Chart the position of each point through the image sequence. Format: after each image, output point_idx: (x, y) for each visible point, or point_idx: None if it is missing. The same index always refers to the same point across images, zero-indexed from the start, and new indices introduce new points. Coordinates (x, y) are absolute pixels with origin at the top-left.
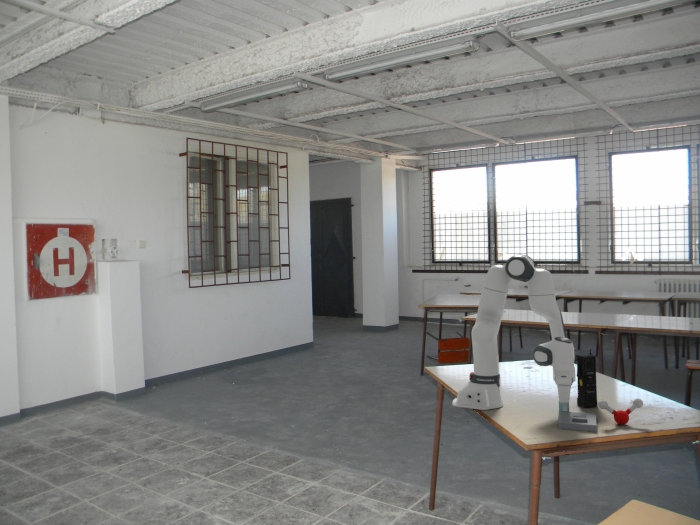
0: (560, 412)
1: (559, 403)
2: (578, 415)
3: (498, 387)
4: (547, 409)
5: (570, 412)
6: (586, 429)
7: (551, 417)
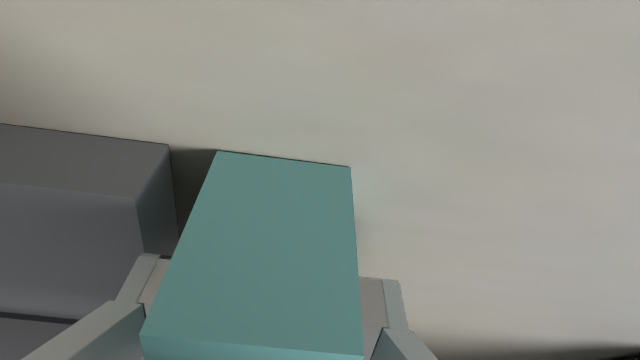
0: (61, 209)
1: (154, 309)
2: (16, 352)
3: None
4: (594, 20)
5: None
6: None
7: (108, 38)
